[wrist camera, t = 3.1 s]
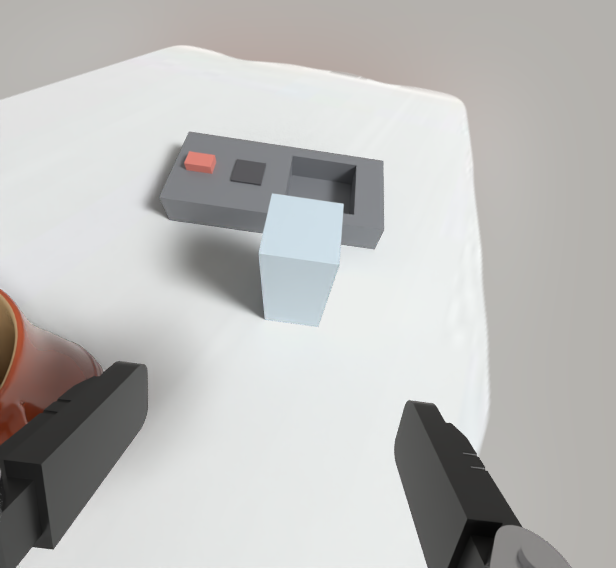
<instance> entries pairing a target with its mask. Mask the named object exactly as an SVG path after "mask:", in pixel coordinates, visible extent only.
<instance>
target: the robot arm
mask: <svg viewBox="0 0 616 568" xmlns="http://www.w3.org/2000/svg"><path fill="white" fill-rule="evenodd" d="M147 410H148V373H147V367H146V365H144V364H137V363H129V362H122V361H117V362H115V363H114V364H113V365H112V366H111V367H109V368H108V369H107V370H106V371H105V372H104V373H102V374H101V375H100V376H93V377H91V378H89V379H86V380H84V381H82V382H80V383H78V384H76V385H74V386H73V387H71V388H70V389H69V390H68V391H66V392H65V393H64V394H63V395H61V396H60V397H59V398H58V399H57V401H56V402H55V401H54V402H53V403H52V404H50V405H49V406H48V407H47V408H45V409H44V411H43V413H39V414H38V415H37V416H36V417H34V418H33V419H32V420H31V421H30V422H28V423H27V424H26V425H25V426H23V427H22V428H21V429H20V430H18V431H17V432H16V433H15V434H14V435H12V436H11V437H10V438H9V439H7V440H6V441H5V442H4V443H2V444H1V445H0V568H19V563H20V562H21V560H22V559H23V558H24V557H25V555H26V554H27V553H28V552H29V550H30V549H31V548H32V547H37V548H46V549H54V548H55V547H56V545H57V544H58V542H59V541H60V540H61V538H62V537H63V535H64V534H65V533H66V531H67V530H68V529H69V527H70V526H71V524H72V523H73V522H74V520H75V519H76V518H77V516H78V515H79V513H80V512H81V511H82V509H83V508H84V506H85V505H86V504H87V502H88V501H89V500H90V498H91V497H92V495H93V494H94V493H95V491H96V490H97V489H98V487H99V486H100V484H101V483H102V482H103V480H104V479H105V477H106V476H107V475H108V473H109V472H110V471H111V469H112V468H113V466H114V465H115V464H116V462H117V461H118V460H119V458H120V457H121V455H122V454H123V453H124V451H125V450H126V449H127V447H128V446H129V444H130V443H131V442H132V440H133V439H134V437H135V436H136V435H137V433H138V432H139V431H140V429H141V427H142V426H143V423H144V421H145V418H146V415H147ZM394 454H395V461H396V465H397V468H398V472H399V475H400V478H401V481H402V485H403V488H404V491H405V495H406V498H407V501H408V504H409V508H410V511H411V514H412V518H413V521H414V524H415V527H416V531H417V534H418V537H419V541H420V544H421V547H422V550H423V554H424V557H425V560H426V564H427V567H428V568H571V566H570V565H569V564H568V562H567V561H566V560H565V558H563V556H562V555H561V554H560V553H559V552H558V551H557V550H556V549H555V548H554V547H553V546H552V545H551V544H549V543H548V542H547V541H545V540H544V539H543V538H541V537H540V536H538V535H537V534H535V533H533V532H531V531H529V530H527V529H525V528H523V527H522V526H521V524H520V523H519V521H518V519H517V518H516V516H515V515H514V513H513V511H512V510H511V508H510V506H509V505H508V503H507V502H506V500H505V498H504V497H503V495H502V494H501V492H500V491H499V489H498V487H497V486H496V484H495V482H494V481H493V479H492V478H491V476H490V474H489V473H488V471H485V467H484V465H483V463H482V462H481V460H480V458H479V457H477V453H476V452H475V450H474V449H473V447H472V445H471V444H470V442H469V441H468V439H467V438H466V437H465V436H464V435H463V434H462V433H461V432H460V431H459V430H458V429H457V428H456V427H455V426H454V425H453V424H452V423H446V422H445V421H444V419H443V417H442V415H441V414H440V412H439V410H438V408H437V407H436V405H435V404H433V403H426V402H418V401H411V400H409V401H407V402H406V404H405V407H404V410H403V414H402V418H401V421H400V425H399V428H398V432H397V435H396V439H395V446H394Z"/></svg>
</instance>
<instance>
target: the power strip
mask: <svg viewBox="0 0 616 568" xmlns="http://www.w3.org/2000/svg"><path fill="white" fill-rule="evenodd" d="M272 193H273V194H280V195H287V196H294V197H300V198H307V199H314V200H321V201H328V202H335V203H341V204H344V208H343V221H342V235H341V244H343V245H350V246H357V247H364V248H371V249H375V247H376V245H377V243H378V241H379V239H380V237H381V235H382V233H383V231H384V177H383V161H381V160H374V159H368V158H361V157H354V156H348V155H341V154H334V153H328V152H321V151H315V150H308V149H301V148H295V147H288V146H281V145H275V144H268V143H262V142H255V141H248V140H242V139H235V138H228V137H222V136H215V135H209V134H202V133H195V132H189V133H188V135H187V137H186V139H185V141H184V144H183V146H182V148H181V150H180V152H179V155H178V157H177V159H176V161H175V163H174V166H173V168H172V170H171V172H170V174H169V177H168V179H167V181H166V183H165V185H164V188H163V190H162V192H161V194H160V196H159V199H160V201H161V203H162V205H163V207H164V209H165V211H166V213H167V215H168V218H169V220H175V221H182V222H189V223H196V224H203V225H210V226H217V227H224V228H231V229H238V230H245V231H252V232H259V233H263V231H264V227H265V222H266V218H267V213H268V209H269V204H270V200H271V195H272Z"/></svg>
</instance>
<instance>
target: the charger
mask: <svg viewBox="0 0 616 568" xmlns="http://www.w3.org/2000/svg"><path fill="white" fill-rule="evenodd" d="M343 208H344V204H341V203H335V202H328V201H321V200H314V199H307V198H300V197H294V196H287V195H280V194H273V193H272V195H271V200H270V204H269V209H268V213H267V218H266V222H265V227H264V231H263V236H262V240H261V244H260V249H259V253H258V254H259V264H260V274H261V285H262V295H263V305H264V316H265V320H271V321H278V322H286V323H293V324H300V325H308V326H315V327H318V326H319V323H320V320H321V317H322V314H323V311H324V308H325V305H326V303H327V300H328V297H329V294H330V291H331V288H332V285H333V282H334V279H335V276H336V273H337V270H338V267H339V263H340V249H341V235H342V221H343Z"/></svg>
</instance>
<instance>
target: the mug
mask: <svg viewBox="0 0 616 568" xmlns="http://www.w3.org/2000/svg"><path fill="white" fill-rule="evenodd" d="M102 373H104V372H103V370H102V368H101V366H100V365H99V363H98V362H97V361H96V360H95V358H94V357H93V356H92V355H91V354H90V353H88V352H87V351H86V350H85V349H84V348H83V347H81V346H80V345H78V344H76V343H74V342H71V341H68V340H66V339H64V338H62V337H60V336H57V335H55V334H53V333H51V332H49V331H46V330H44V329H41V328H39V327H36V326H34V325H33V324H31V323H30V322H29V321H28V319H27V318H26V317H25V316H24V314H23V313H22V311H21V310H20V309H19V307H18V306H17V304H16V303H15V302H14V301H13V300H12V298H11V297H10V296H9V295H7V294H6V293H5V292H4V291H3V290H1V289H0V445H1V444H2V443H4V442H5V441H6V440H7V439H9V438H10V437H11V436H12V435H14V434H15V433H16V432H17V431H18V430H20V429H21V428H22V427H23V426H25V425H26V424H27V423H28V422H30V421H31V420H32V419H33V418H34V417H36V416H37V415H38V414H39V413H43V411H44V409H45V408H47V407H48V406H49V405H50V404H52V403H53V402H54V401H55V402H56V401H57V399H58V398H59V397H60V396H61V395H63V394H64V393H65V392H66V391H68V390H69V389H70V388H71V387H73V386H74V385H76V384H78V383H80V382H82V381H84V380H86V379H89V378H91V377H93V376H100V375H101V374H102Z"/></svg>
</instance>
